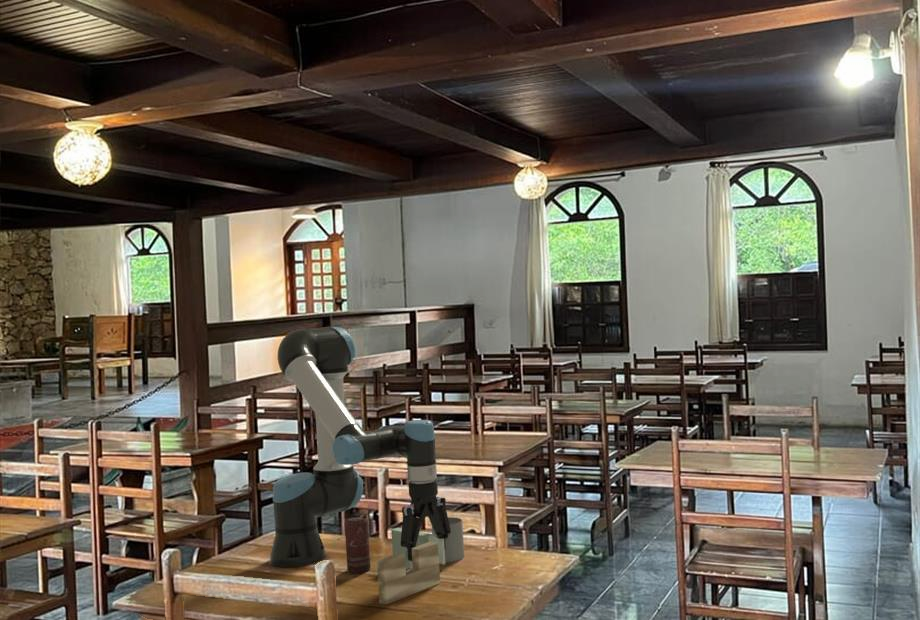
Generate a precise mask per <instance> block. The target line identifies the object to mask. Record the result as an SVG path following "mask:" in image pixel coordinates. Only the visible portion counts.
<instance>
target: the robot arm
mask: <svg viewBox="0 0 920 620" xmlns="http://www.w3.org/2000/svg"><path fill="white" fill-rule="evenodd" d="M355 356H356V347H355V342H354V339H353V337H352V336H351V334H350V333H349V331H347V330H346V329H344V328H343V327H341V326H340V327H339V326H326V327H316V328H315V327H313V328H299V329H295V330H292V331H290V332H289V333H286V335H285V336H284V337H283V338H282V340H281V342H280V343H279V346H278V348H277V364H278V366H279V369H280V371H281V373H282V374H283V376H284V377H285V379H286V380H287V381H289V382H291V383H294V385H295V387H296V388H297V389H298V391H299V392H300V393H301V395H302V396H303V398H304V399H305V400H306V402H307V403H308V405H309V406H310V408H311V409H312V410H313V412H314V414H315V427H316V428H315V429H316V443H317V445H316V447H317V460H318V461H317V463H316V464H315V465H314V466H313V473H312V472H307V471H306V472H304V471H303V472H298V473H292V474H288V475H285V476H283V477H280V478H279V479H277V480H276V481H275V482H274V484H273V487H272V502H273V503H272V504H273V514H274V515H273V517H274V531H275V532H274V533H275V535H274V539H273V544H272V548H271V552H270V554H269V555H270V564H271V565H273V566H276V567H279V568H280V567H281V568H296V567H304V566H309V565H314V564H316V563H319V562H321V561H322V560H324V559H325V557H326V549H325V546H324V544H323V541H322V537H321V535H320V533H319V530H318V521H317V520H318V519H317V518H320V517H323V516H327V515H328V516H329V515H331V514H332V515H333V514H336V513H342V512H345V511H347V510H350V509H352V508H354V507H356V506H357V505H358V504H359V502H360V501H361V499H362V496H363V492H364V490H363V489H364V485H363V483H364V482H363V479H362V477H360V476H361V474H360V472H359V471H358V470H357V469H356V468H354V465H358V464H360V463H363V462H368V461H369V462H370V461H373V460H379V459H380V460H381V459H383V458H388V457H393V456H400V457H403V456H404V457H406V464H407V465H406V467H407V480H408V481H409V482H408V496H409V497H410V500H411V501H410V504H409V505H408V506H403V507H401V513H402V522H401V523H402V524H401V528H402V533H401V544H400V545H401V546H402V547H406V548H407V552H408V560H409V561H410V569H409V570H411V569H413V561H412V548H414V547H416V543H417V539H418V535H419V532H421V527H422V524H423V522H424V520H425V518H428V519H429V522H430V524H431V527H432V526H433V528H434V531H435V533H436V535H437V537H438V538H437V537H436V538H435V543H438V554H439V565H446V562H445V548H446V544H445V538H448V534H450V533H451V529H450V525H449V520H448V513H447V507H446V500H447V499H446V498H445V497H442V496H437V495H438V494H439V487H438V481H437V478H438V476H437V475H438V473H437V454H436V435H435V428H434V423H433V422H432V420H430V419H429V420H428V419H416V420H415V419H414V420H413V419H412V420H409V421H406V423H404V426H396V425H382V426H379V428H378V429H373V430H367V431H365V430H364V429H363V428H362V427H361V425H359V423H358V422H357V420H356V419H355V418H354V416H353V415H352V413H351V412H350V411H349V409H348V408H347V407H346V404H345V387H344V386H345V385H344V377H345V376H346V375H347V374H348V373H349V368H348V367H349V366H350V365H351V364H352V363H353V361H354V359H355V358H356V357H355ZM445 528H446V529H445ZM411 542H412V543H411ZM318 561H319V562H318Z"/></svg>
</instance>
